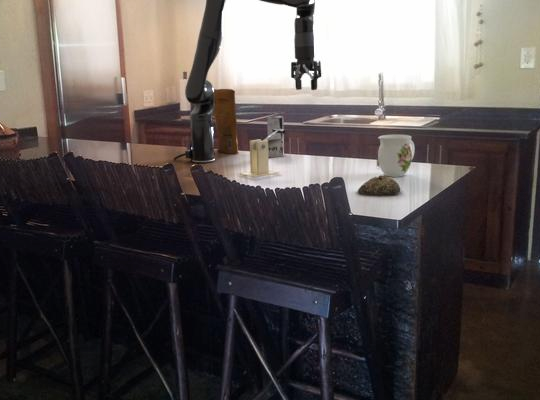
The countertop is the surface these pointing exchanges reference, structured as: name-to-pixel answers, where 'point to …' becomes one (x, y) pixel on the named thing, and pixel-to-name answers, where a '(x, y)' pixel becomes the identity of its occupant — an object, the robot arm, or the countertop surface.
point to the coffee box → (275, 137)
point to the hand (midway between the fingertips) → (306, 89)
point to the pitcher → (395, 154)
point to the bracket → (259, 159)
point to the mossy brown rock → (380, 186)
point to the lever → (271, 135)
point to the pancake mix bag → (226, 120)
